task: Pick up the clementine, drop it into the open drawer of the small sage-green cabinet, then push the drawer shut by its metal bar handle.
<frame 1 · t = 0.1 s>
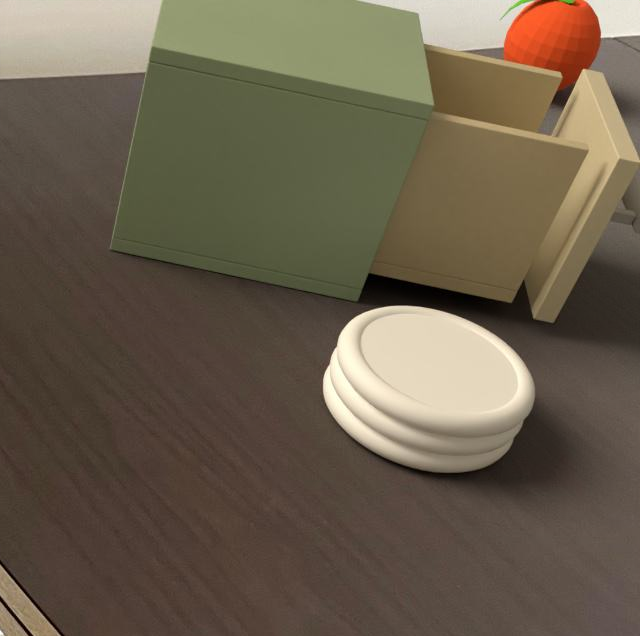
cabinet: (237, 222, 71), on the table
clementine: (523, 89, 92), on the table
cream round stack: (412, 416, 60), on the table
drawer: (494, 179, 67), point 6 cm above the table, slide at 10.0 cm
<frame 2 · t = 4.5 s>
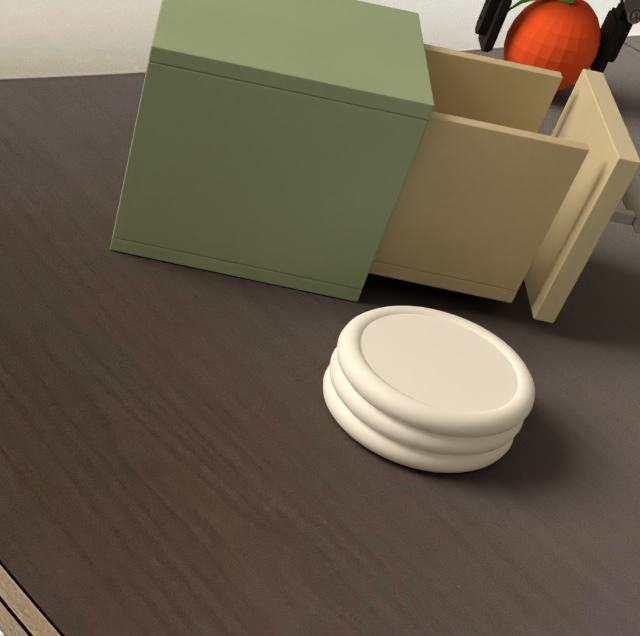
hand: (539, 55, 90), 2 cm above the table, tool pointing down, fingers closed on clementine, 8 cm apart
clementine: (523, 89, 92), on the table, touching gripper
everything else where it was.
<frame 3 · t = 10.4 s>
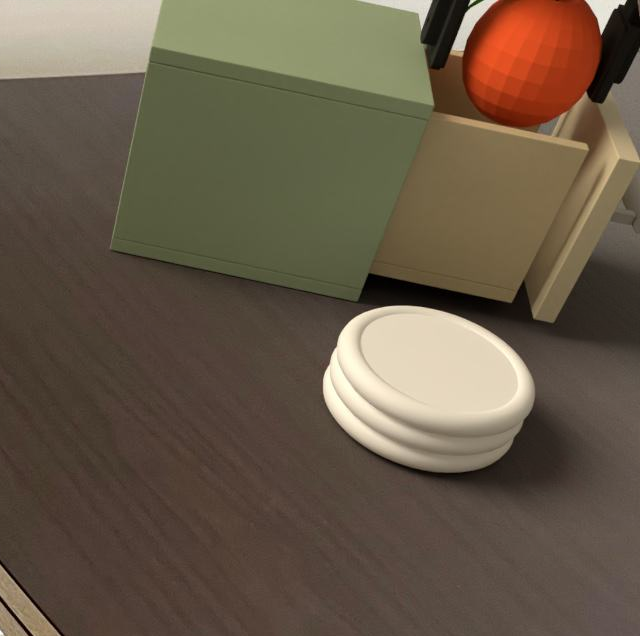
hand: (512, 74, 63), 12 cm above the table, tool pointing down, fingers closed on clementine, 8 cm apart
clementine: (492, 122, 65), point 9 cm above the table, touching gripper
everything else where it was.
when the fingers open (12 cm above the table, at t = 14.2 s): clementine drops 7 cm, resting on drawer.
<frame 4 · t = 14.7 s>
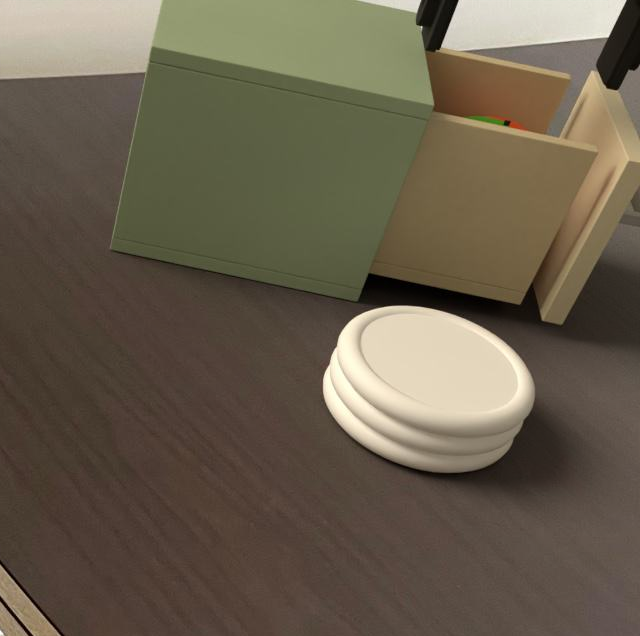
hand: (517, 60, 62), 12 cm above the table, tool pointing down, fingers open, 9 cm apart
clementine: (446, 236, 70), point 2 cm above the table, touching drawer
drawer: (502, 181, 67), point 6 cm above the table, slide at 10.5 cm, touching clementine
everything else where it was.
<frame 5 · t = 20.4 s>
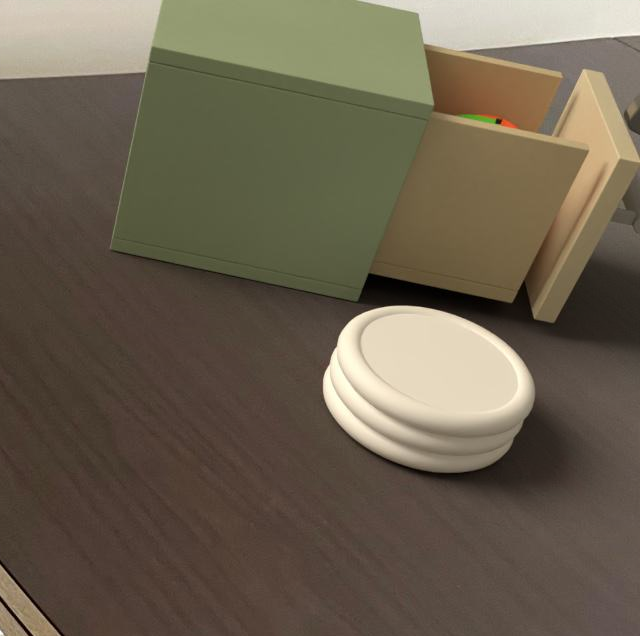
drawer: (494, 179, 67), point 6 cm above the table, slide at 10.0 cm, touching clementine, gripper
everything else where it was.
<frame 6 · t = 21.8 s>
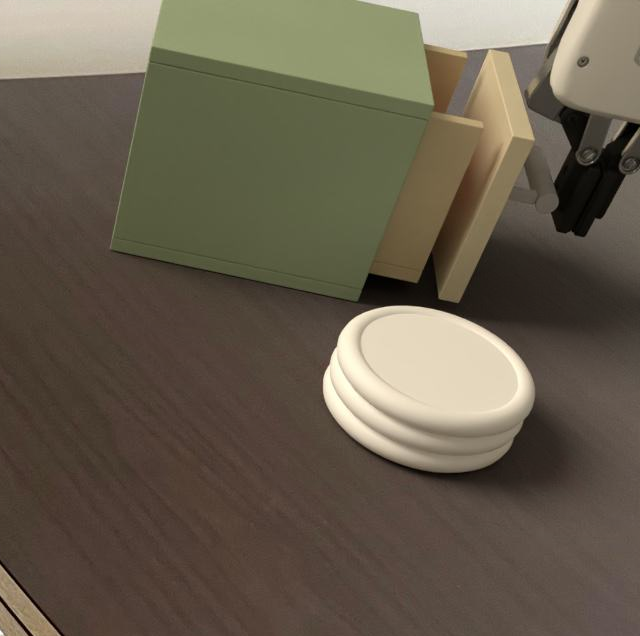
hand: (566, 222, 68), 4 cm above the table, tool pointing down, fingers closed
clementine: (348, 215, 70), point 2 cm above the table, touching drawer
drawer: (400, 160, 67), point 6 cm above the table, slide at 4.5 cm, touching clementine, gripper
everything else where it was.
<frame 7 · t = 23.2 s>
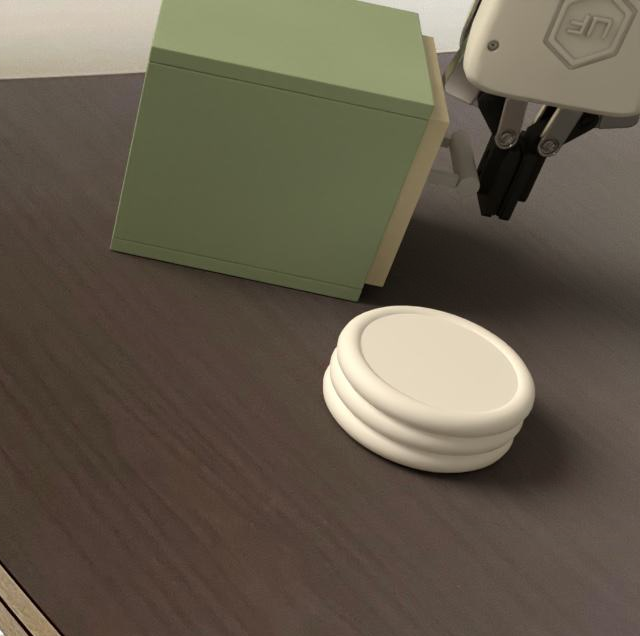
hand: (491, 206, 68), 4 cm above the table, tool pointing down, fingers closed
clementine: (275, 200, 70), point 2 cm above the table, touching drawer
drawer: (324, 144, 67), point 6 cm above the table, slide at 0.0 cm, touching cabinet, clementine, gripper
everything else where it was.
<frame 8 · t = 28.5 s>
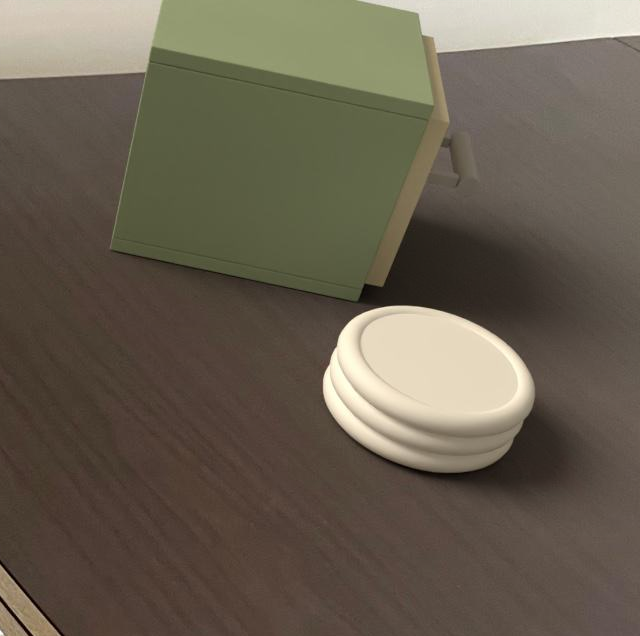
drawer: (324, 144, 67), point 6 cm above the table, slide at 0.0 cm, touching cabinet, clementine
everything else where it was.
at the end: clementine inside the target area in the cabinet (1.8 cm from its centre), point 1.8 cm above the cabinet's base; drawer slide at 0.0 cm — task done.
